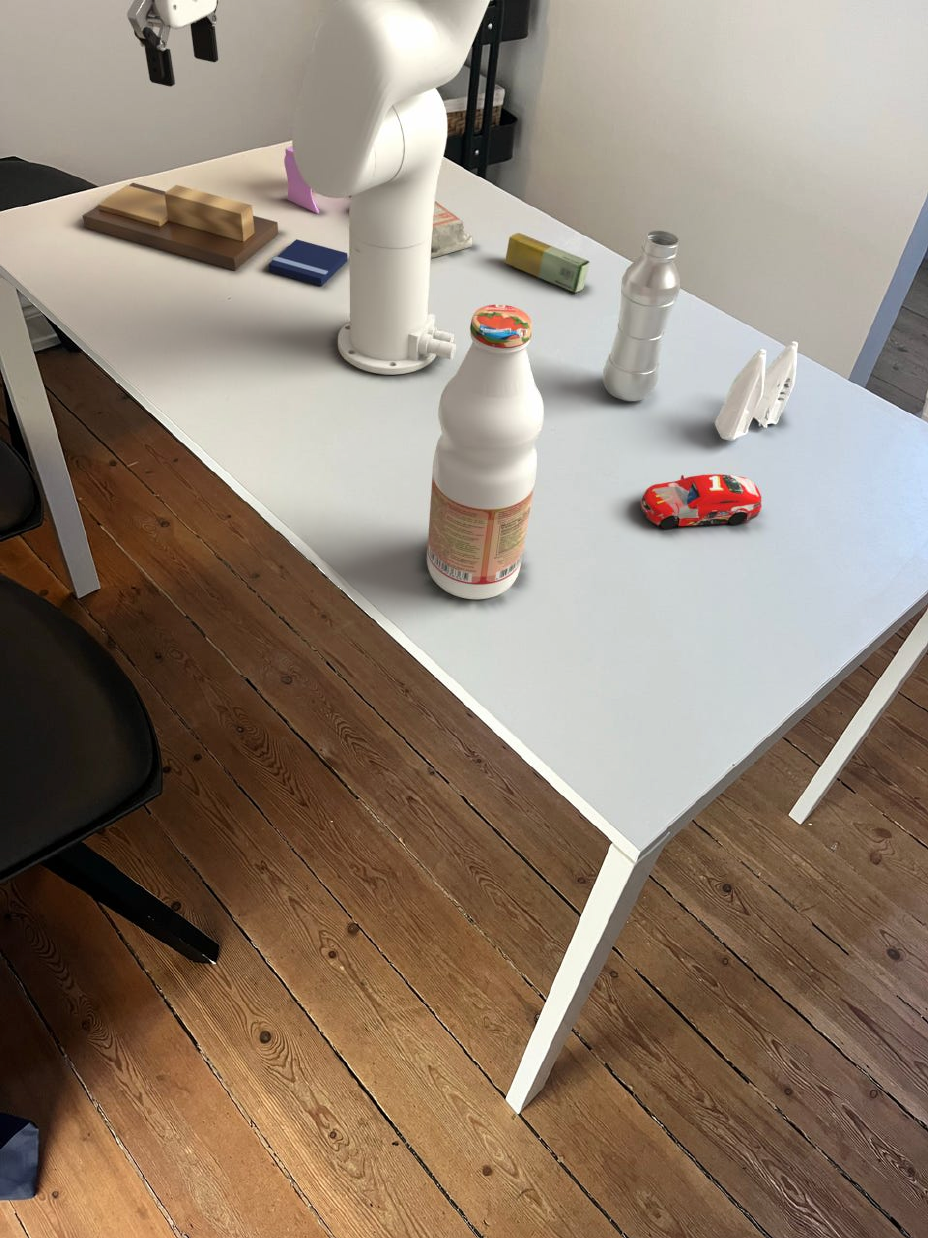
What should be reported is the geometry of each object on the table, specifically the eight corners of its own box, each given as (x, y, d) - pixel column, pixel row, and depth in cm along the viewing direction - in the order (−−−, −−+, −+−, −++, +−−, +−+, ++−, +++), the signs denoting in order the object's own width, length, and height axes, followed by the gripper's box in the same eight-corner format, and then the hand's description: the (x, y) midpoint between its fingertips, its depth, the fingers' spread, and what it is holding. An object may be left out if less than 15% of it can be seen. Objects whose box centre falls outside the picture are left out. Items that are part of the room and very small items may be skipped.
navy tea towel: (347, 260, 138) (347, 252, 137) (321, 286, 132) (321, 277, 131) (296, 246, 139) (296, 238, 138) (268, 271, 134) (268, 262, 133)
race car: (645, 532, 104) (653, 503, 101) (632, 498, 108) (640, 470, 105) (762, 526, 106) (773, 498, 103) (745, 493, 110) (756, 465, 107)
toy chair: (279, 198, 149) (273, 92, 137) (319, 180, 154) (316, 77, 142) (320, 216, 146) (317, 110, 134) (359, 198, 151) (359, 94, 139)
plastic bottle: (656, 410, 119) (697, 255, 104) (600, 405, 119) (634, 249, 104) (650, 379, 124) (689, 226, 109) (597, 375, 123) (629, 221, 109)
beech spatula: (261, 226, 139) (259, 199, 136) (236, 248, 134) (233, 219, 131) (127, 190, 143) (122, 162, 140) (98, 209, 138) (92, 181, 135)
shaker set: (727, 453, 115) (755, 373, 106) (700, 435, 117) (725, 354, 108) (789, 418, 120) (820, 339, 112) (762, 401, 122) (791, 322, 114)
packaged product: (477, 215, 139) (419, 231, 135) (474, 247, 143) (418, 264, 138) (405, 165, 148) (349, 179, 144) (404, 197, 152) (349, 211, 147)
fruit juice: (427, 601, 95) (445, 350, 74) (424, 535, 101) (440, 285, 81) (523, 603, 96) (567, 354, 75) (515, 536, 102) (553, 290, 81)
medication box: (584, 288, 138) (591, 260, 135) (576, 294, 136) (582, 266, 133) (512, 257, 141) (517, 230, 139) (503, 263, 140) (508, 235, 137)
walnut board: (278, 233, 141) (277, 221, 140) (235, 270, 133) (234, 258, 132) (134, 194, 146) (132, 182, 145) (85, 227, 138) (82, 215, 137)
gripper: (146, -75, 102) (172, 100, 115) (233, -106, 114) (247, 56, 126) (85, -87, 104) (117, 87, 116) (177, -116, 115) (197, 45, 128)
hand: (185, 71), depth 121 cm, fingers open, 9 cm apart
